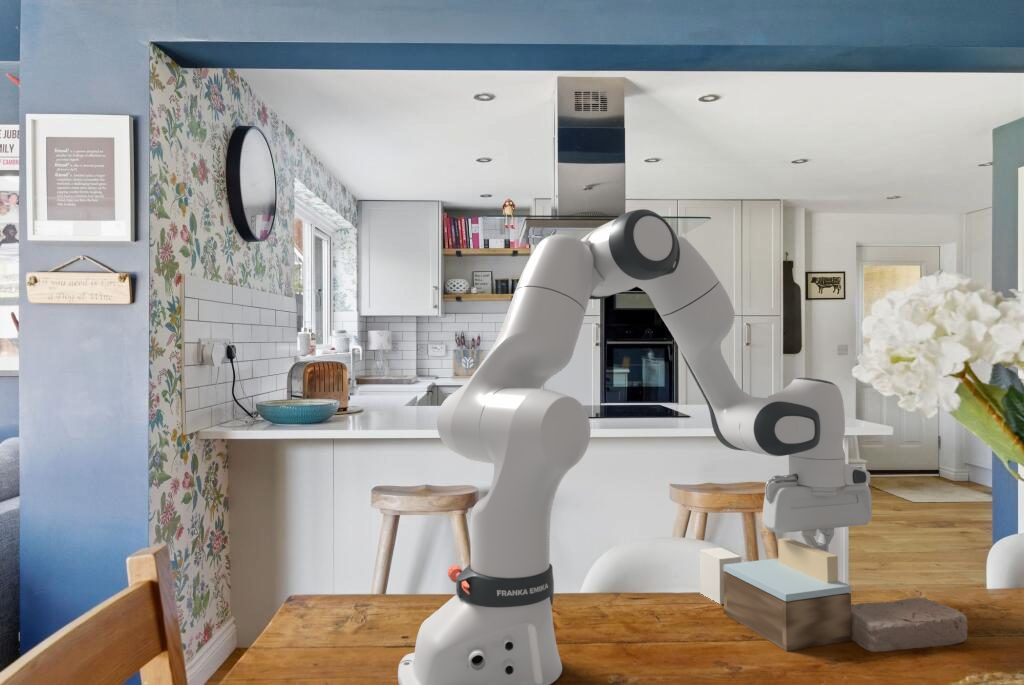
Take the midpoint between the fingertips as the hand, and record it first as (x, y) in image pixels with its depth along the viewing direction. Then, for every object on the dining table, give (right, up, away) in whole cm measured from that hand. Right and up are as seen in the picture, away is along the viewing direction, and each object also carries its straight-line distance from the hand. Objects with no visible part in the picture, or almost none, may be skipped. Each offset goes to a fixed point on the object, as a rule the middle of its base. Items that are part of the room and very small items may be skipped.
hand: (817, 554), depth 113 cm
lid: (-9, -2, -7) cm, 11 cm away
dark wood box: (-9, -9, -7) cm, 14 cm away
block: (-15, -10, +6) cm, 19 cm away
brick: (+8, -10, -11) cm, 17 cm away
